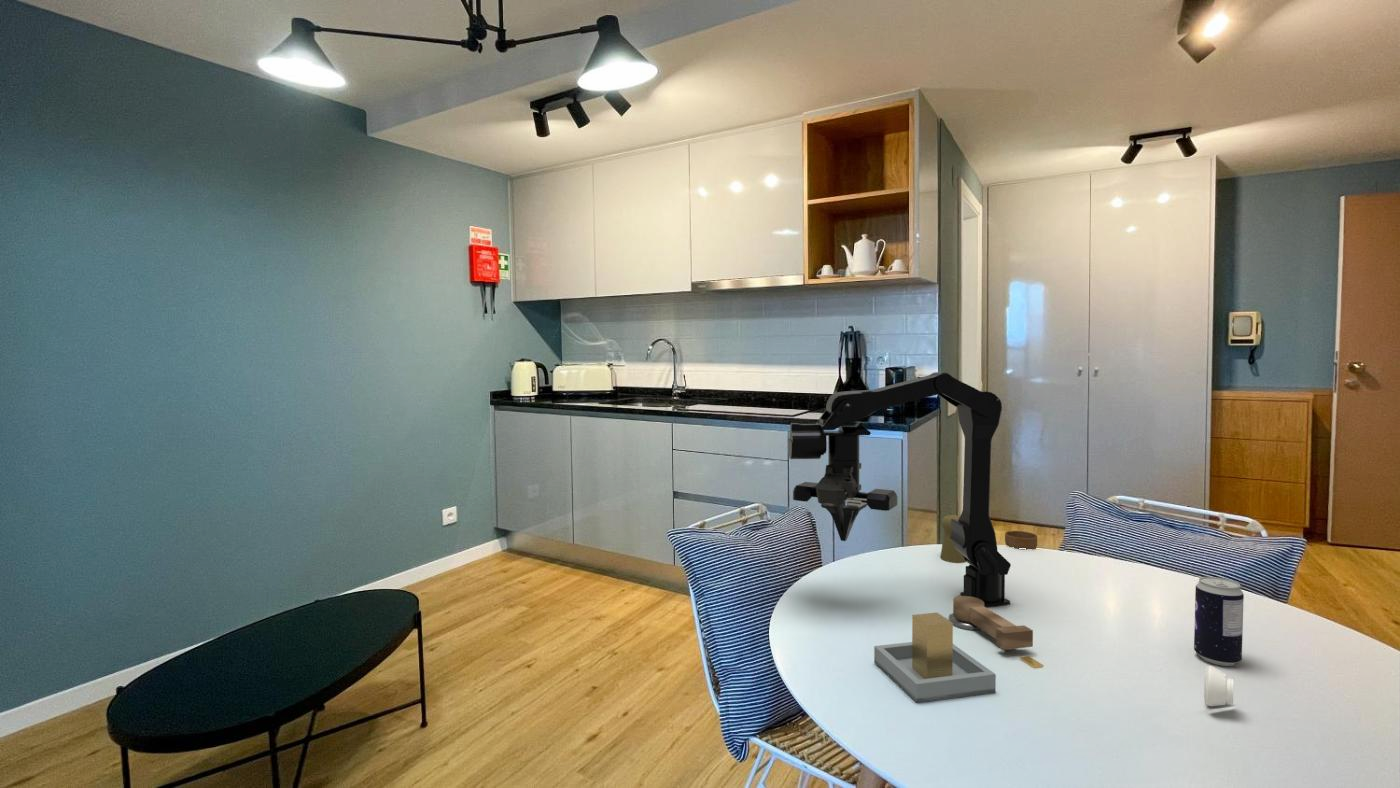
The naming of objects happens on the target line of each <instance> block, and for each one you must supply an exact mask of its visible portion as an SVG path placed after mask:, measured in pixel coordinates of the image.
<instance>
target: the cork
mask: <svg viewBox="0 0 1400 788" xmlns="http://www.w3.org/2000/svg"><path fill="white" fill-rule="evenodd" d="M960 516H961V515H957V514H956V515H955V514H949V515H945V516H944V517H943V518H942V519H941V526H942V529H943V537H942V544H941V552H940V559H941V560H942V561H944V562H946V563H951V564H963V563H966V562H965V561H964V558H963V556H962V554H961V553H959V552H958V551H957V550H956V548H955V547H954V543H953V541H952V540H951V539H950V536H951V533H952V526H951V519H956V520H958V519H959V518H960Z"/></svg>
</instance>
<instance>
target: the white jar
mask: <svg viewBox="0 0 1400 788" xmlns="http://www.w3.org/2000/svg"><path fill="white" fill-rule="evenodd" d="M1203 678H1204V679H1203V680H1204V681H1203V698H1204V701H1205V703H1206V704H1207V706H1208V707H1218V706H1225V705H1226V703H1229V704H1234V679H1233V678H1230V677H1229V678H1227V675H1226V674H1225V673H1224V672H1223V671H1221V670H1219V669H1218V668H1216V667H1214V666H1213V665H1207V667H1206V669H1205V670H1204V677H1203Z"/></svg>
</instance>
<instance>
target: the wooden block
mask: <svg viewBox="0 0 1400 788" xmlns="http://www.w3.org/2000/svg"><path fill="white" fill-rule="evenodd" d="M911 620H912V627H911V628H912V629H911V630H912V631H911V632H912V635H911V638H912V639H911V640H912V641H911V642H912V668H913V669H914V670H915V671H916V672H917V673H918V674H919V675H921V676H922V677H923V678H924V679H929V678H937V677H946V676H952V667H953V644H954V643H953V641H954V640H953V637H954V634H953V633H954V632H953V631H954V630H953V629H954V626H953V623H952V622H951V621H949V618H948V619H947V618H946V617H945V616H943V615H942V614H940V613H939V612H929V613H928V612H927V613H919V614H912V618H911Z"/></svg>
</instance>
